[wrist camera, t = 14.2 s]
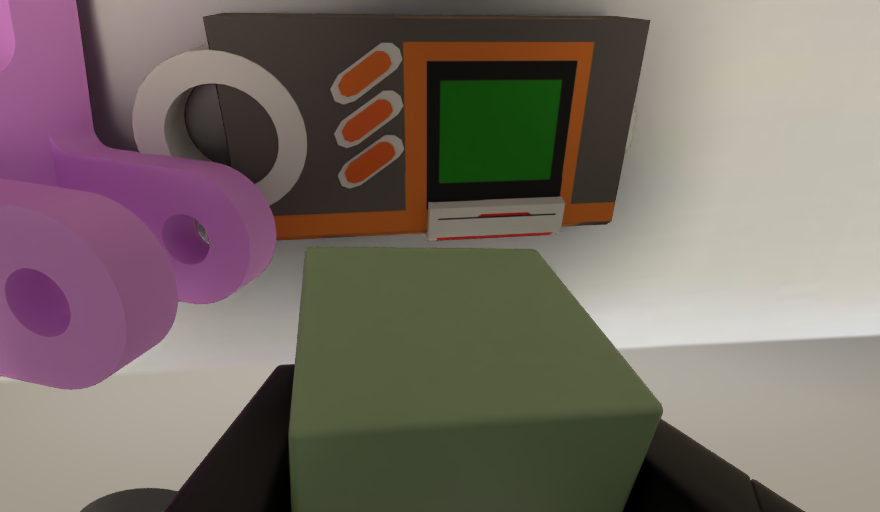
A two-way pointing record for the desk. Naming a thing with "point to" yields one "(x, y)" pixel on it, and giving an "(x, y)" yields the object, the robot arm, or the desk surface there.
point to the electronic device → (412, 118)
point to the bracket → (100, 218)
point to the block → (457, 388)
